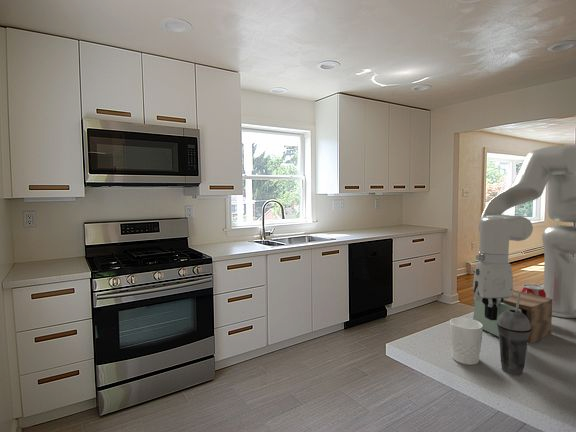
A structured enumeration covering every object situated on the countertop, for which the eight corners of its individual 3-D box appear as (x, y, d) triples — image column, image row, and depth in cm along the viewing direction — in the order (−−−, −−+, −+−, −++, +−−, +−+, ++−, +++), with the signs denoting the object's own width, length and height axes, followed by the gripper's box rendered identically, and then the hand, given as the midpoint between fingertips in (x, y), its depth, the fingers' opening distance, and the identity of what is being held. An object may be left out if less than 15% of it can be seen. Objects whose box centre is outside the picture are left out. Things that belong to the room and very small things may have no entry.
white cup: (478, 354, 97) (479, 319, 97) (484, 368, 90) (485, 330, 89) (447, 350, 100) (448, 316, 99) (450, 363, 93) (451, 326, 92)
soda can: (549, 325, 115) (550, 290, 114) (525, 324, 117) (526, 289, 116) (538, 318, 122) (540, 284, 121) (516, 316, 124) (517, 283, 123)
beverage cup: (488, 364, 92) (491, 289, 90) (515, 362, 92) (518, 288, 91) (508, 379, 85) (511, 298, 83) (537, 377, 85) (540, 297, 83)
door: (475, 323, 117) (475, 293, 116) (520, 344, 101) (521, 309, 100) (469, 324, 116) (470, 293, 115) (514, 345, 101) (515, 310, 100)
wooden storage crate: (498, 317, 123) (499, 286, 122) (550, 333, 110) (552, 299, 109) (476, 325, 117) (477, 293, 116) (530, 343, 103) (531, 307, 102)
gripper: (478, 261, 100) (475, 324, 101) (526, 260, 101) (523, 322, 103) (462, 256, 107) (460, 315, 109) (507, 255, 109) (504, 313, 110)
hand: (490, 318), depth 106 cm, fingers closed
